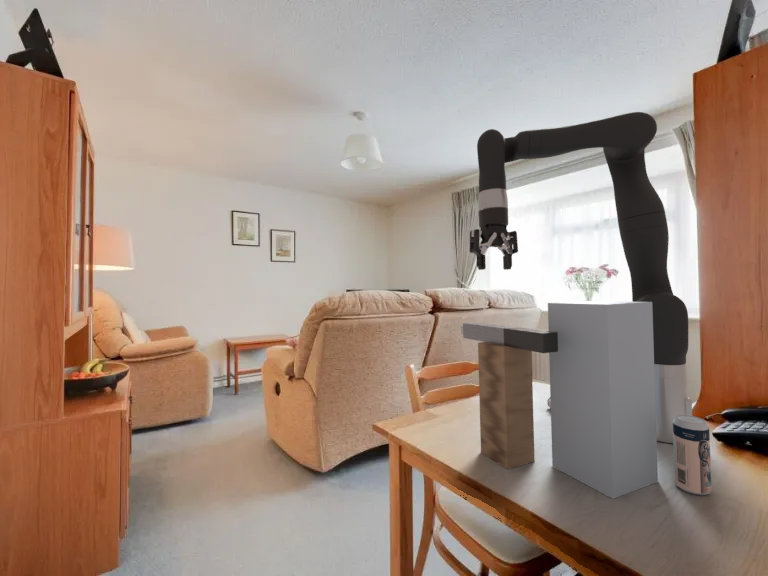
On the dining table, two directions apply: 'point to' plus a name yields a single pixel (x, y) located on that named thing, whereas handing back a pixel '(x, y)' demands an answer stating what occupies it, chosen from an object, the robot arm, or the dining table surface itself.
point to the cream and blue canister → (692, 454)
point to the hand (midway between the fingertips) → (494, 269)
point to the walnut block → (506, 404)
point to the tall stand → (604, 394)
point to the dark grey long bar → (512, 336)
